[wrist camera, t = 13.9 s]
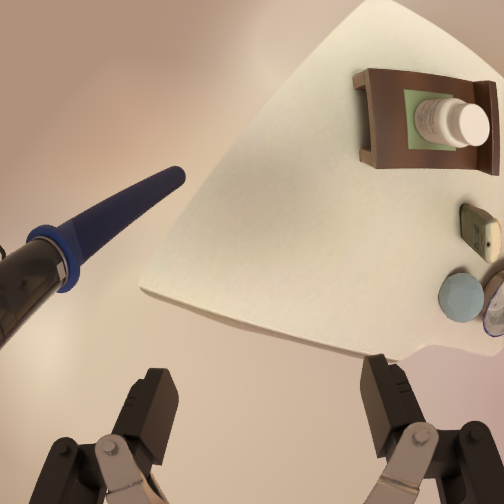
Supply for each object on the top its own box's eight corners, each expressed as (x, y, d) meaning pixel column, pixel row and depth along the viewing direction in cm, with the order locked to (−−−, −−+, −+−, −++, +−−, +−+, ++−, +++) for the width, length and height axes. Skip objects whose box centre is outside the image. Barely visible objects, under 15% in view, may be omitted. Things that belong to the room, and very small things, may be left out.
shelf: (360, 161, 32) (387, 174, 24) (352, 76, 28) (378, 62, 20) (457, 161, 30) (499, 175, 22) (453, 85, 26) (496, 82, 18)
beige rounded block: (443, 219, 34) (475, 242, 26) (466, 192, 32) (501, 210, 24) (462, 245, 35) (492, 271, 28) (483, 219, 33) (516, 241, 26)
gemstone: (495, 285, 33) (493, 295, 30) (469, 322, 37) (463, 335, 34) (460, 256, 38) (454, 263, 35) (436, 295, 42) (428, 304, 39)
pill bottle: (454, 119, 23) (500, 123, 16) (435, 150, 25) (479, 163, 18) (425, 91, 22) (468, 86, 15) (405, 123, 24) (446, 126, 17)
